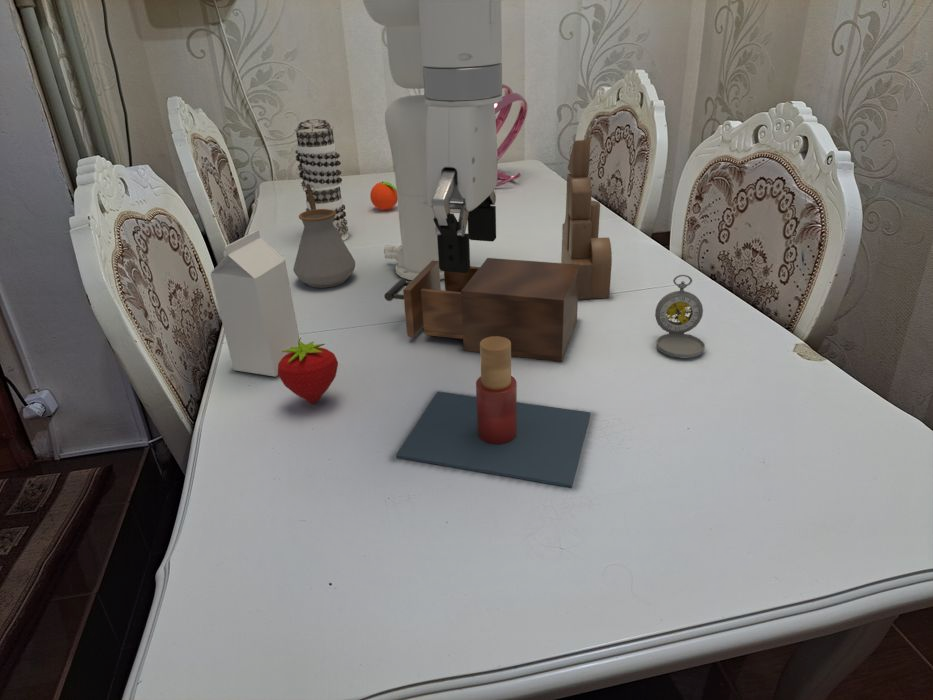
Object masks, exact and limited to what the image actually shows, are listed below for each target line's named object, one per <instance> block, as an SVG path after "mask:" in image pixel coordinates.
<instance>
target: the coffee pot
mask: <svg viewBox="0 0 933 700" xmlns="http://www.w3.org/2000/svg"><path fill="white" fill-rule="evenodd" d="M305 186H306V188H307V190H306V191H305V189H304V187H305ZM305 186H304V187H302V190H303V191H304V192H307V194H308V201H309V204H310V207H311V210H309V211H306V210H305V211H303V212H301V213H299V214H298V219H299V220H301V222H302V224H303V230H302V234H301V237H300V243H299V246H298V250H297V253H296V257H295V261H294V265H293V269H292V270H293V273H294V274H295V276H296V277H297V278H298V279H299V280H300V281H301V282H303V283H305V284H306V285H307V286H309V287H311V288H317V289H324V288H332V287H333V288H334V287H336V286H339V285H342V284H343V283H345V282H346V281H347V280H348V278H350V276H351V275H352V274H353V272H354V271H355V269H356V260H355V259H354V257H353V255H352V253H351V252H350V250H349V248H348V247H347V245H346V243H345V241H344V240H342V238H341V237H340V235H339V233H338V232H337V230H336V228H335V227H334V225H333V220H334V217H335V215H336V213H337V212H336V211H333V210H329V209H316V205H315V198H314V196H313V194H312V193H313V191H314V190H312V189H311V186H313V185H309V184H307V185H305ZM313 187H314V186H313ZM314 189H315V187H314Z"/></svg>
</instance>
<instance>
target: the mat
mask: <svg viewBox="0 0 933 700" xmlns="http://www.w3.org/2000/svg"><path fill="white" fill-rule="evenodd" d="M590 417H591V411H583V410H577V409H570V408H560V407H554V406H547V405H546V406H545V405H539V404H533V403H532V404H531V403H527V402H526V403H524V402H519V401H517V434H516V436H515V438H514V439H513V440H512V441H510V442H508V443H504V444H490V443H487V442H484V441H483V440H481V439H480V438H479V436H478V426H477V399H476V395H475V396H474V395H466V394H460V393H459V394H458V393H452V392H445V391H436V393H435V394H434V396H433V398H432V399H431V400H430V402H429V404H428V406H427V407H426V408H425V410H424V411H423V413H422V414H421V416H420V418H419V419H418V421H417V422H416V424H415V425H414V427H413V428H412V430H411V431H410V433H409V435H408V436H407V437H406V439H405V440H404V442H403V444H402V445H401V446H400V449H399V450H398V451H397V453H396V454H395V457H396V458H397V459H402V460H409V461H413V462H414V461H415V462H420V463H426V464H432V465H437V466H444V467H450V468H456V469H461V470H466V471H473V472H477V473H478V472H479V473H484V474H490V475H496V476H503V477H509V478H515V479H520V480H524V481H532V482H538V483H541V484H542V483H543V484H548V485H549V484H550V485H554V486H559V487H560V486H561V487H566V488H573V483H574V480H575V476H576V472H577V468H578V465H579V459H580V457H581V452H582V448H583V444H584V440H585V436H586V433H587V429H588V424H589V421H590Z"/></svg>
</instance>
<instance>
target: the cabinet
mask: <svg viewBox="0 0 933 700" xmlns="http://www.w3.org/2000/svg"><path fill="white" fill-rule="evenodd" d="M479 267H480V268H479V269H478V270H477V272H476V273H475V274H474V275H473V277H472V278H471V279H470V280H469V282H468V283H467V284H466V285H465V287H464V288H463V289H462V290H461V301H462V323H463V339H462V340H463V341H462V342H463V343H462V345H463V351H465V352H474V353H480V342H481V341H482V340H483V339H485V338H487V337H492V336H500V337H505V338H507V339H509V340H510V342H511V357H518V358H525V359H532V360H533V359H534V360H542V361H551V362H558V363H559V362H560V363H562V362H563V360H564V357H565V355H566V352H567V348H568V346H569V343H570V340H571V338H572V336H573V333H574V330H575V327H576V325H577V322H578V309H579V308H578V307H579V306H578V305H579V300H578V288H579V267H580V265H579V264H565V263H561V262H549V261H536V260H524V259H523V260H522V259H508V258H496V257H492V258H491V257H487V258H485V260H484V261H483V263H482V264H481V265H480V266H479Z"/></svg>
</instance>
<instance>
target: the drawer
mask: <svg viewBox="0 0 933 700" xmlns="http://www.w3.org/2000/svg"><path fill="white" fill-rule="evenodd" d="M480 267H481V266H475V265H473V266H472V265H470V270H469V271H468V272H467V273H459V272H447V271H444V279H443V280H444V289H443V290H442V288H441V279H440V273H439V261H431V262H430V263H429V264H428V265H427V266H426V267H425V268H424V269H423V270H422V271H421V272H420V273H419V274H418V275H417V276H416V277H415V278H414V279H413V280H410V281H407V279H405V278H400V279H399V280H398V281H397V282H396V283H395V284H393V286H392V287H391V288H390V289H388V291H386V292H385V293H384V295H383V296H384V299H385V300H386V301H388V302H391V301H393V299H395V300H403V305H404V315H405V316H404V317H405V326H406V337H407V338H416V336H418V334H419V333H420V331H421V330H422V329H423V335H424V336H430V337H431V336H432V337H440V338H441V337H442V338H449V339H450V338H451V339H459V340H463V323H462V301H461V290H462V289H463V288H464V287H465V285H466V284H467V283H468V282H469V280H470V279H471V278H472V277H473V275H474V274H475V273H476V272H477V270H478V269H479V268H480ZM400 292H402V293H401V294H400Z"/></svg>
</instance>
